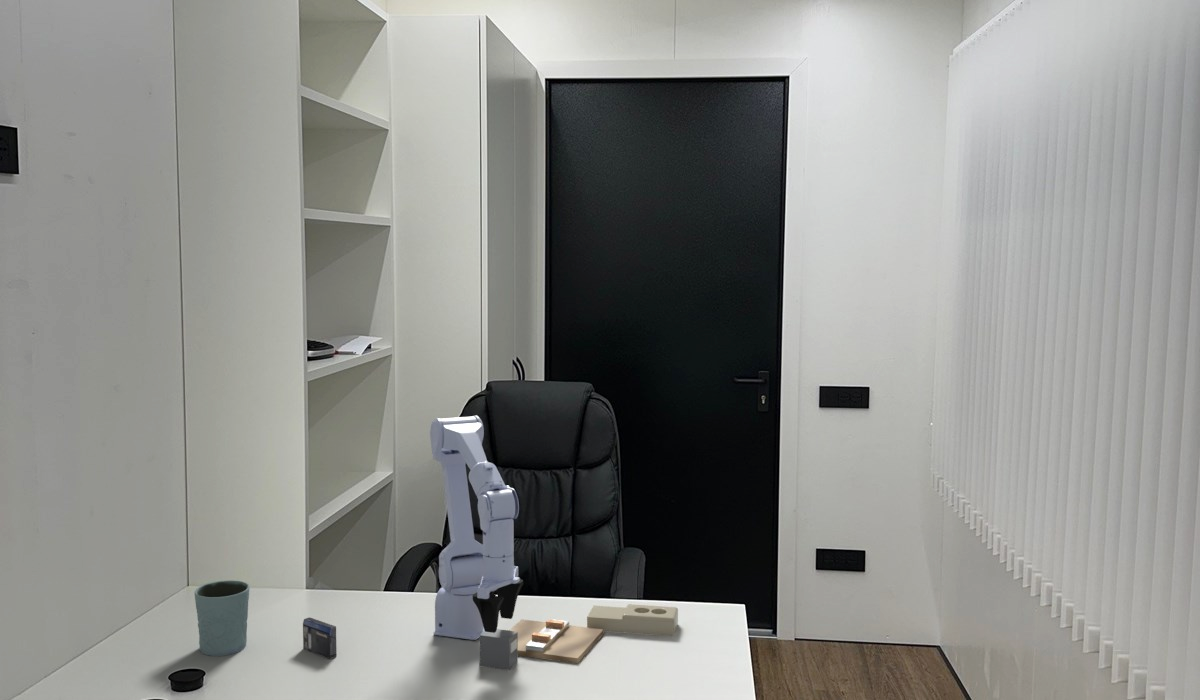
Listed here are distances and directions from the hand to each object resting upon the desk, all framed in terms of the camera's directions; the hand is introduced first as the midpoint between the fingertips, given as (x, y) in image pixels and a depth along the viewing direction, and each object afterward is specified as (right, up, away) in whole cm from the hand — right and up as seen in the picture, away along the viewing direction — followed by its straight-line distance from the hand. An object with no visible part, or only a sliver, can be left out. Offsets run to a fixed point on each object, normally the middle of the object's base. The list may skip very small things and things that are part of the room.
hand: (498, 624), depth 192 cm
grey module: (0, -8, +1) cm, 8 cm away
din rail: (+9, -7, +11) cm, 16 cm away
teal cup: (-54, -7, +8) cm, 56 cm away
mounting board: (+9, -7, +11) cm, 16 cm away
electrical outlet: (+26, -7, +21) cm, 34 cm away
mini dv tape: (-35, -7, +6) cm, 36 cm away
